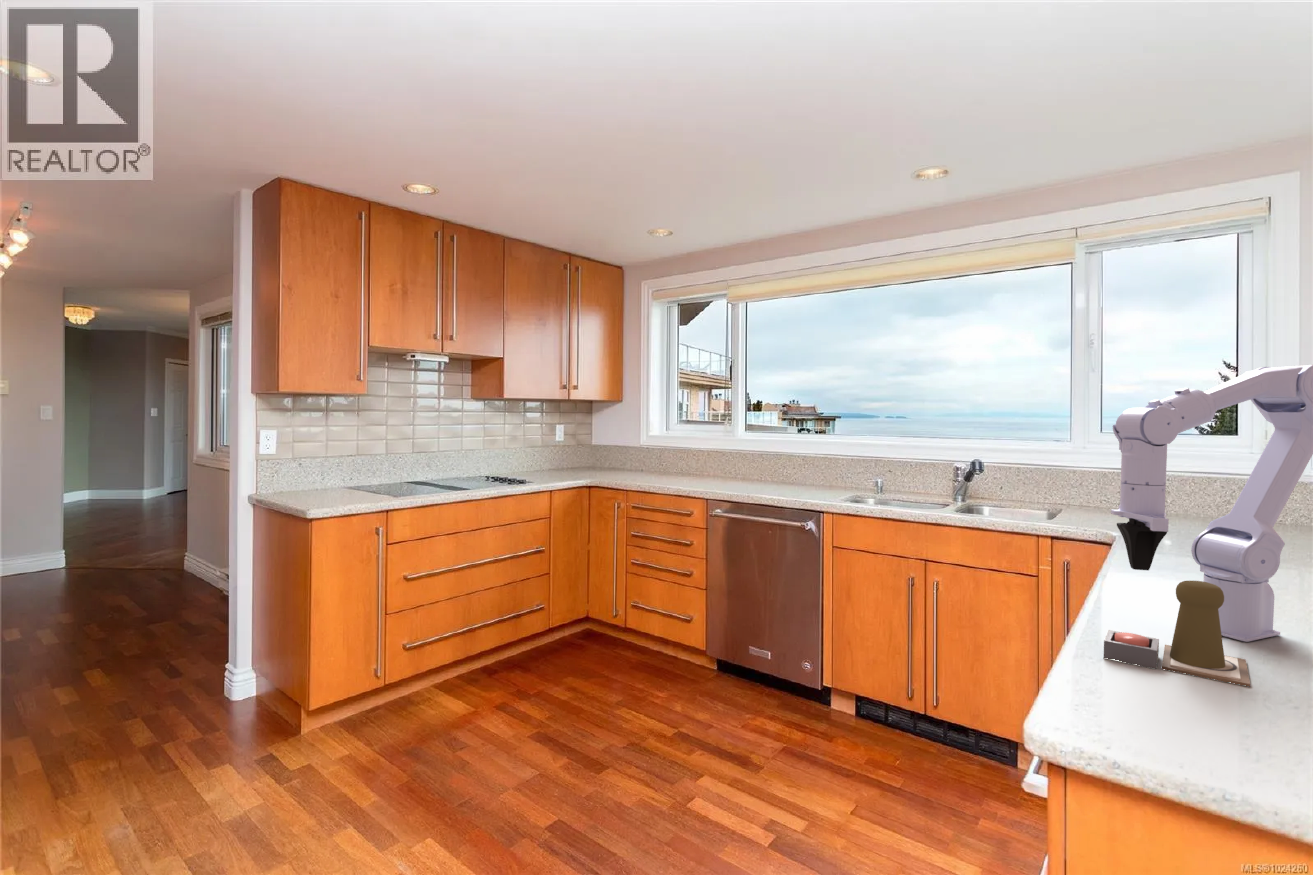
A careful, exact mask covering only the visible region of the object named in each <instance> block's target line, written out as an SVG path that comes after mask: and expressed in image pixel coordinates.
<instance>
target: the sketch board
mask: <svg viewBox="0 0 1313 875" xmlns="http://www.w3.org/2000/svg"><path fill="white" fill-rule="evenodd" d="M1171 646H1172V645H1169V644H1164V649H1163V656H1162V662H1161V670H1163V669H1165V670H1164V671H1168V670H1170V671H1169V672H1173V671H1175V672H1174V673H1179V674H1183V673H1186V674H1185V675H1188V674H1190V675H1189V676H1192V675H1194V676H1193V677H1197V676H1198V678H1203V679H1207V678H1209V679H1208V680H1212V679H1215V680H1214V681H1217V680H1218V681H1217V682H1222V681H1223V682H1222V683H1227V682H1231V683H1230V684H1232V683H1235V684H1234V685H1237V684H1240V685H1239V686H1242V685H1246V686H1245V687H1247V686H1249V687H1248V688H1251V681H1250V676H1249V669H1248V666H1247V660H1246V659H1245V658H1242V657H1241V658H1240V657H1234V656H1229V655H1225V654H1224V658H1225V666H1226V667H1224V668H1220V669H1210V668H1202V667H1196V666H1192V665H1188V664H1184V663H1181V662H1179V661H1176V660H1174V659H1172V658H1171V657H1170V651H1171Z"/></svg>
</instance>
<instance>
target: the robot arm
mask: <svg viewBox="0 0 1313 875" xmlns="http://www.w3.org/2000/svg"><path fill="white" fill-rule="evenodd" d="M1247 401H1251V402H1252V404H1253V405H1254V406H1255V407H1256V409H1257V410H1258V411H1259V412H1260V414H1261V415H1262V416H1263V417H1264V419H1265V421H1266V422H1269V423H1270V424H1272V425H1273V427H1274V430H1273V433H1272V435H1271V437H1270V438H1269V440H1268V442H1267V444H1266V445H1265V447H1264V449H1263V451H1262V453H1261V455H1260V456H1259V458H1258V460H1257V462H1256V463H1255V466H1254V468H1253V470H1252V471H1251V473H1250V475H1249V477H1248V479H1247V480H1246V482H1245V484H1244V486H1243V488H1242V489H1241V492H1240V493H1239V495H1238V497H1237V499H1236V501H1235V503H1234V504H1233V507H1232V508H1231V510H1230V512H1229V513H1227V514H1225V515H1223V516H1219V517H1217V518H1215V519H1213V520H1211V521H1210V522H1209V523H1208V525H1207V527H1206V528H1205V529H1204V530H1203V531H1202V532H1200V533H1198V535H1197V536H1195V538H1194V540H1193V542H1192V545H1191V556H1192V558H1193V560H1194V561H1195V563H1196V564H1197V565H1198V566H1199V571H1200V572H1201V573H1203V582H1207V583H1211V584H1214V585H1216V586H1218V587H1220V588H1221V590H1222V591H1223V594H1224V602H1223V605H1222V606H1221V607H1220V608H1219V609H1218V611H1219V619H1220V627H1221V635H1222V636H1223V637H1226V638H1230V639H1234V640H1237V641H1241V642H1245V643H1246V642H1247V643H1248V642H1253V641H1257V640H1261V639H1266V638H1270V637H1275V636H1279V635H1280V636H1281V631H1279V630H1275V629H1274V613H1275V593H1274V590H1273V588H1272V586H1271V585H1270V584H1269V579H1271V578H1272V577H1274V575H1276V573H1277V572H1278V570H1279V568H1280V564H1281V554H1282V551H1283V548H1284V547H1285V545H1286V543H1285V541H1284V540H1283V539H1282V537H1281V535H1280V534H1278V532H1277V531H1276V530H1275V529H1274V527H1275V525H1276V523H1277V521H1278V519H1279V517H1280V516H1281V514H1282V513H1283V510H1284V508H1285V506H1286V505H1287V502H1288V500H1289V499H1290V497H1291V496H1292V494H1293V491H1294V490H1295V488H1296V486H1297V485H1298V482H1299V481H1300V478H1301V477H1302V475H1303V473H1304V471H1305V469H1307V468H1306V467H1307V465H1309V462H1310V460H1311V458H1312V457H1313V364H1307V365H1306V364H1305V365H1303V364H1302V365H1291V366H1290V365H1289V366H1288V365H1287V366H1274V367H1271V366H1262V367H1257V368H1255V369H1253V370H1248V371H1247V370H1246V371H1244V373H1243V374H1241V375H1239V376H1236V377H1234V378H1232V379H1229V380H1228V381H1225V382H1223V383H1220V384H1218V385H1216V386H1214V387H1211V388H1209V389H1207V390H1205V391H1202V390H1200V389H1196V388H1191V389H1190V388H1189V387H1184V388H1183V387H1182V388H1178V389H1175V390H1174V395H1170V396H1167V397H1166V398H1163V399H1153V400H1150V401H1148V402H1147V403H1148V405H1146V406H1145V407H1131V408H1127V409H1125V410H1124V411H1123V412H1121V413H1120V414H1119V415H1118V417H1117V419H1116V421H1115V424H1112V431H1113V434H1114V436H1115V438H1116V439H1117V441H1118V443H1119V444H1118V445H1119V446H1118V450H1120V453H1121V462H1120V464H1121V466H1120V468H1121V469H1120V493H1119V494H1120V495H1119V496H1120V498H1119V505H1118V509H1113V508H1111V509H1110V514H1112V515H1113V516H1118V517H1119V518H1126V519H1128V521H1127V522H1117V523H1116V527H1117V529H1118V530H1119V532H1120V534H1121V536H1122V539H1123V542H1124V545H1125V549H1126V554H1127V557H1128V558H1127V559H1128V562H1129V566H1130V568H1131V569H1132V570H1135V571H1136V570H1137V571H1150V570H1151V567H1152V563H1153V561H1154V558H1155V554H1156V552H1157V549H1158V547H1159V545H1160V543H1161V542H1162V540H1163V539H1164V537H1166V535H1167V534H1168V532H1169V524H1170V523H1169V522H1170V521H1169V520H1170V519H1169V518H1167V513H1166V491H1167V490H1166V489H1167V488H1166V487H1167V485H1166V484H1167V463H1168V462H1167V461H1168V460H1167V459H1168V444H1171V443H1172V442H1173V441H1174V440H1175V439H1176V438H1177V436H1178V434H1180V433H1183V432H1186V431H1188V430H1191V429H1193V428H1196V427H1199V426H1201V425H1204V424H1207V423H1209V422H1210V421H1212V420H1213V419H1214V417H1215V414H1216V411H1220V410H1222V409H1226V408H1229V407H1232V406H1235V405H1238V404H1241V403H1244V402H1247Z"/></svg>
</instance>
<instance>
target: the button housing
mask: <svg viewBox="0 0 1313 875" xmlns="http://www.w3.org/2000/svg"><path fill="white" fill-rule="evenodd" d="M1120 632H1121V631H1117V630H1111V629H1108V631H1107V632H1106V635H1105V637H1104V640H1103V659H1104V658H1108V659H1115V660H1119V661H1122V662H1121V663H1123V662H1126V663H1125V664H1128V663H1129V664H1128V665H1133V664H1137V665H1136V666H1138V665H1140V666H1139V667H1142V666H1143V668H1147V667H1148V668H1147V669H1152V668H1155V669H1154V670H1157V667H1158V660H1159V652H1160V650H1159V648H1160V647H1159V646H1160V639H1159V638H1156V637H1149V636H1144V635H1143V636H1144V637H1146V638H1148V639H1149V648H1148V647H1143V646H1137V645H1132V644H1127V643H1121V642H1116V641H1115V633H1120ZM1108 659H1107V660H1108Z"/></svg>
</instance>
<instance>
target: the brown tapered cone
mask: <svg viewBox="0 0 1313 875" xmlns="http://www.w3.org/2000/svg"><path fill="white" fill-rule="evenodd" d="M1175 596H1176V599H1177V601H1178V602H1179V608H1178V613H1177V618H1176V619H1177V620H1176V623H1175V627H1174V630H1173V632H1174V633H1173V637H1172V642H1171V645H1170V646H1171V651H1170V657H1171V658H1172V659H1174V660H1176V661H1179V662H1181V663H1184V664H1188V665H1192V666H1196V667H1202V668H1210V669H1220V668H1224V667H1226V666H1225V658H1224V655H1225V652H1224V651H1225V650H1224V645H1223V637H1222V635H1221V627H1220V619H1219V611H1218V609H1219V608H1220V607H1221V606H1222V605H1223V602H1224V594H1223V591H1222V590H1221V588H1220V587H1218V586H1216V585H1214V584H1211V583H1207V582H1204V581H1202V580H1201V581H1200V580H1183V581H1180V582H1179V583H1178V584H1177V585H1176V588H1175Z"/></svg>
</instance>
